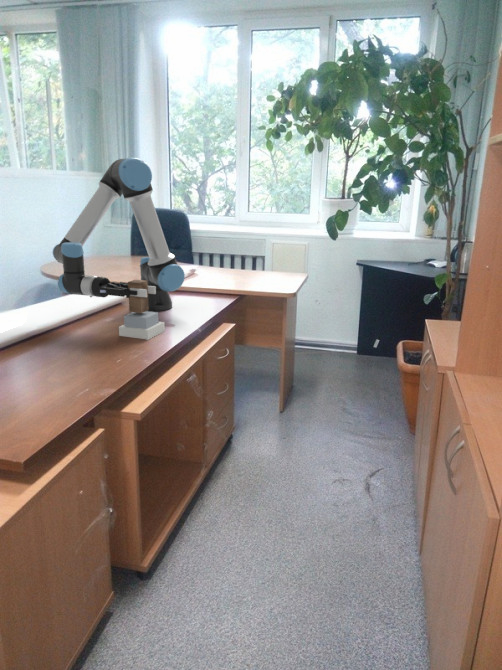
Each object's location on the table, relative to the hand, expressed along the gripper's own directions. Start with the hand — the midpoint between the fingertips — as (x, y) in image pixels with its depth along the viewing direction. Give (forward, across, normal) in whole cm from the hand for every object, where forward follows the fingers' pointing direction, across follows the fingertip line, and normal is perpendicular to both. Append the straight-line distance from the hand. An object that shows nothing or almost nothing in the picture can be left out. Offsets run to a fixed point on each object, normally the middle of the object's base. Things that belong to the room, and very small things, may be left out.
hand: (150, 291), depth 171 cm
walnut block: (-5, 0, -8) cm, 9 cm away
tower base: (-4, 0, -17) cm, 17 cm away
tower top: (-4, 0, -13) cm, 13 cm away
